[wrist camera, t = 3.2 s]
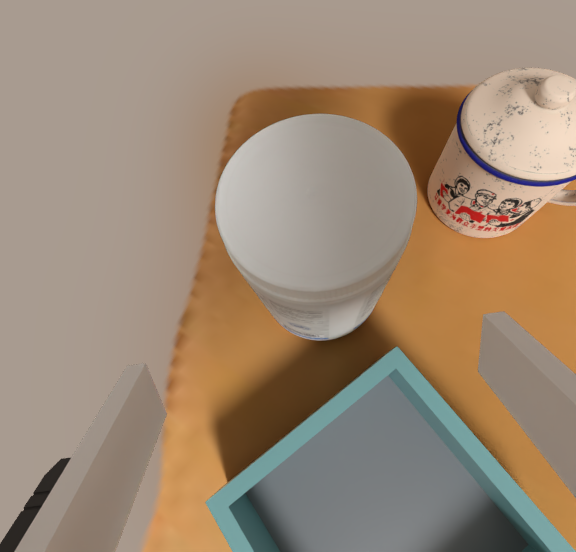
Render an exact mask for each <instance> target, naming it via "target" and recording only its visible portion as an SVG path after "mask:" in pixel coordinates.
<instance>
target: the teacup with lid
mask: <svg viewBox="0 0 576 552" xmlns="http://www.w3.org/2000/svg"><path fill="white" fill-rule="evenodd" d="M575 179H576V79H574V78H572V77H570V76H568V75H565V74H563V73H559V72H556V71H552V70H548V69H540V68H518V69H512V70H508V71H504V72H501V73H498V74H495V75H493V76H491V77H489V78H487V79H486V80H484V81H483V82H481V83H480V84H479V85H477V86H476V87H475V88H474V89H473V90H472V91H471V92H470V93H469V94H468V95H467V96H466V98H465V99H464V101H463V102H462V104H461V106H460V108H459V111H458V115H457V123H456V125H455V127H454V129H453V131H452V133H451V135H450V137H449V139H448V141H447V143H446V145H445V147H444V149H443V151H442V154H441V156H440V158H439V160H438V162H437V164H436V166H435V168H434V170H433V172H432V174H431V176H430V179H429V182H428V190H427V191H428V199H429V203H430V205H431V208H432V209H433V211H434V213H435V214H436V216H437V217H438V218H439V219H440V220H441V221H442V222H443V223H444V224H445V225H447V226H448V227H449V228H451V229H453V230H454V231H456V232H459V233H461V234H464V235H467V236H471V237H477V238H492V237H498V236H502V235H505V234H507V233H510V232H511V231H513V230H515V229H516V228H518V227H519V226H520V225H521V224H523V223H524V222H525V221H526V220H527V219H528V218H530V217H531V216H532V215H533V214H534V213H535V212H536V211H538V210H539V209H540V208H541V207H542V206H543V205H544V204H546V203H547V202H549V203H553V204H558V205H566V206H576V190H563V188H564V187H565V186H566V185H568V184H569V183H570V182H571V181H573V180H575Z"/></svg>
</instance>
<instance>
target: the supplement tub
mask: <svg viewBox="0 0 576 552" xmlns="http://www.w3.org/2000/svg"><path fill="white" fill-rule="evenodd" d="M416 208H417V191H416V184H415V180H414V176H413V173H412V170H411V168H410V166H409V164H408V162H407V160H406V158H405V157H404V155H403V154H402V152H401V151H400V150H399V148H398V147H397V146H396V145H395V144H394V143H393V142H392V141H391V140H390V139H389V138H388V137H387V136H385V135H384V134H383V133H381V132H380V131H378V130H377V129H375V128H373V127H371V126H370V125H368V124H366V123H363V122H361V121H358V120H355V119H352V118H349V117H345V116H340V115H333V114H307V115H300V116H295V117H291V118H288V119H285V120H282V121H279V122H276V123H274V124H272V125H270V126H268V127H266V128H264V129H262V130H261V131H259V132H257V133H256V134H255V135H253V136H252V137H251V138H249V139H248V140H247V141H246V142H245V143H244V144H242V146H241V147H240V148H239V149H238V150H237V151H236V152H235V154H234V155H233V156H232V157H231V159H230V160H229V162H228V163H227V165H226V167H225V169H224V171H223V173H222V175H221V177H220V180H219V183H218V187H217V192H216V199H215V214H216V222H217V226H218V229H219V232H220V235H221V238H222V240H223V242H224V245H225V248H226V250H227V252H228V254H229V256H230V258H231V260H232V261H233V263H234V264H235V266H236V267H237V268H238V270H239V271H240V273H241V274H242V276H243V277H244V278H245V280H246V281H247V282H248V284H249V285H250V286H251V288H252V289H253V290H254V292H255V293H256V294H257V296H258V297H259V298H260V300H261V301H262V302H263V304H264V305H265V306H266V308H267V309H268V310H269V312H270V313H271V314H272V316H273V317H274V318H275V319H276V321H277V322H278V323H279V324H280V325H281V326H283V327H284V328H285V329H286V330H288V331H289V332H291V333H292V334H294V335H297V336H299V337H302V338H305V339H310V340H317V341H324V340H332V339H337V338H340V337H343V336H345V335H347V334H349V333H351V332H352V331H354V330H355V329H357V328H358V327H359V326H360V325H361V324H362V323H363V322H364V321H365V320H366V319H367V318H368V316H369V315H370V314H371V312H372V311H373V309H374V307H375V305H376V303H377V301H378V300H379V298H380V296H381V294H382V292H383V290H384V288H385V286H386V284H387V283H388V281H389V279H390V277H391V275H392V273H393V271H394V270H395V268H396V266H397V264H398V262H399V260H400V258H401V256H402V254H403V252H404V250H405V248H406V246H407V243H408V241H409V238H410V235H411V231H412V226H413V222H414V219H415V214H416Z"/></svg>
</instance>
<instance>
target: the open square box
mask: <svg viewBox="0 0 576 552" xmlns="http://www.w3.org/2000/svg"><path fill="white" fill-rule="evenodd" d="M206 504H207V506H208V508H209V510H210V511H211V513H212V515H213V517H214V519H215V520H216V522H217V524H218V526H219V528H220V530H221V531H222V533H223V535H224V537H225V539H226V540H227V542H228V544H229V546H230V548H231V549H232V551H233V552H576V551H575V550H574V549H573V548H572V547H571V546H570V544H569V543H568V542H567V541H566V540H565V539H564V538H563V536H562V535H561V534H560V533H559V532H558V531H557V529H556V528H555V527H554V526H553V525H552V524H551V523H550V521H549V520H548V519H547V518H546V517H545V516H544V515H543V513H542V512H541V511H540V510H539V509H538V508H537V506H536V505H535V504H534V503H533V502H532V501H531V500H530V498H529V497H528V496H527V495H526V494H525V493H524V492H523V490H522V489H521V488H520V487H519V486H518V485H517V483H516V482H515V481H514V480H513V479H512V478H511V477H510V475H509V474H508V473H507V472H506V471H505V470H504V469H503V467H502V466H501V465H500V464H499V463H498V462H497V460H496V459H495V458H494V457H493V456H492V455H491V454H490V452H489V451H488V450H487V449H486V448H485V447H484V445H483V444H482V443H481V442H480V441H479V440H478V439H477V437H476V436H475V435H474V434H473V433H472V432H471V431H470V429H469V428H468V427H467V426H466V425H465V424H464V422H463V421H462V420H461V419H460V418H459V417H458V416H457V414H456V413H455V412H454V411H453V410H452V409H451V408H450V406H449V405H448V404H447V403H446V402H445V401H444V399H443V398H442V397H441V396H440V395H439V394H438V393H437V391H436V390H435V389H434V388H433V387H432V386H431V385H430V383H429V382H428V381H427V380H426V379H425V378H424V376H423V375H422V374H421V373H420V372H419V371H418V370H417V368H416V367H415V366H414V365H413V364H412V363H411V362H410V360H409V359H408V358H407V357H406V356H405V355H404V353H403V352H402V351H401V350H400V349H399V348H398V347H397V346H396V347H395V348H393V349H392V350H391V351H389V352H388V353H386V354H385V355H383V356H382V357H381V358H380V359H379V360H377V361H376V362H375V363H374V364H372V365H371V366H370V367H369V368H367V369H366V370H365V371H364V372H363V373H361V374H360V375H359V376H358V377H356V378H355V379H354V380H353V381H351V382H350V383H349V384H348V385H347V386H345V387H344V388H343V389H342V390H340V391H339V392H338V393H337V394H335V395H334V396H333V397H332V398H331V399H329V400H328V401H327V402H326V403H324V404H323V405H322V406H321V407H320V408H318V409H317V410H316V411H315V412H313V413H312V414H311V415H310V416H308V417H307V418H306V419H305V420H304V421H302V422H301V423H300V424H299V425H297V426H296V427H295V428H294V429H292V430H291V431H290V432H289V433H288V434H286V435H285V436H284V437H283V438H281V439H280V440H279V441H278V442H276V443H275V444H274V445H273V446H272V447H270V448H269V449H268V450H267V451H265V452H264V453H263V454H262V455H260V456H259V457H258V458H257V459H256V460H254V461H253V462H252V463H251V464H249V465H248V466H247V467H246V468H245V469H243V470H242V471H241V472H240V473H238V474H237V475H236V476H235V477H233V478H232V479H231V480H230V481H229V482H227V483H226V484H225V485H224V486H223V487H222V488H221V489H219V490H218V491H217V492H216V493H215V494H214V495H213V496H212V497H211V498H209V499H208V500H207V501H206Z"/></svg>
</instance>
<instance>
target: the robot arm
mask: <svg viewBox="0 0 576 552" xmlns="http://www.w3.org/2000/svg"><path fill="white" fill-rule="evenodd" d="M478 372H479V373H480V375H481V376H482V377H483V379H484V380H485V381H486V383H487V384H488V385H489V386H490V388H491V389H492V390H493V392H494V393H495V394H496V395H497V397H498V398H499V399H500V401H501V402H502V403H503V405H504V406H505V407H506V408H507V410H508V411H509V412H510V414H511V415H512V416H513V417H514V419H515V420H516V421H517V423H518V424H519V425H520V427H521V428H522V429H523V430H524V432H525V433H526V434H527V436H528V437H529V438H530V439H531V441H532V442H533V443H534V445H535V446H536V447H537V449H538V450H539V451H540V452H541V454H542V455H543V456H544V458H545V459H546V460H547V462H548V463H549V464H550V465H551V467H552V468H553V469H554V471H555V472H556V473H557V474H558V476H559V477H560V478H561V480H562V481H563V482H564V484H565V485H566V486H567V487H568V489H569V490H570V491H571V493H572V494H573V495H574V496H575V498H576V374H575V373H573V372H572V371H571V370H570V369H569V368H568V367H567V366H566V365H564V364H563V363H562V362H561V361H560V360H559V359H558V358H556V357H555V356H554V355H553V354H552V353H551V352H550V351H548V350H547V349H546V348H545V347H544V346H543V345H542V344H540V343H539V342H538V341H537V340H536V339H535V338H534V337H532V336H531V335H530V334H529V333H528V332H527V331H526V330H525V329H523V328H522V327H521V326H520V325H519V324H518V323H517V322H515V321H514V320H513V319H512V318H511V317H510V316H509V315H507V314H506V313H505V312H497V313H490V314H483V323H482V334H481V344H480V355H479V365H478ZM166 415H167V413H166V411H165V408H164V406H163V403H162V401H161V399H160V396H159V394H158V391H157V389H156V387H155V384H154V382H153V379H152V377H151V375H150V372H149V370H148V367H147V365H146V363H143V364H136V365H129V366H126V368H125V370H124V371H123V373H122V375H121V376H120V378H119V380H118V381H117V383H116V385H115V386H114V388H113V390H112V391H111V393H110V395H109V396H108V398H107V400H106V401H105V403H104V404H103V406H102V408H101V409H100V411H99V413H98V415H97V416H96V418H95V419H94V421H93V423H92V424H91V426H90V428H89V429H88V431H87V433H86V434H85V436H84V438H83V439H82V441H81V442H80V444H79V446H78V447H77V449H76V451H75V452H74V454H73V456H72V457H71V458H66V459H61V460H60V461H59V462H58V463H57V464H56V465H55V466H54V467H53V468H52V469H51V470H50V471H49V472H48V473H47V474H46V475H45V476H44V477H43V479H42V481H41V482H40V484H39V485H38V487H37V488H36V490H35V491H34V495H33V496H31V497H30V499H29V500H28V502H27V503H26V505H25V507H24V511H22V512H21V513H20V514H19V516H18V517H17V519H16V520H15V522H14V524H13V525H12V527H11V528H10V530H9V531H8V533H7V534H6V536H5V538H4V539H3V540H2V542H1V544H0V552H115V551H116V548H117V546H118V543H119V540H120V538H121V535H122V532H123V530H124V527H125V524H126V522H127V519H128V516H129V514H130V511H131V508H132V506H133V503H134V500H135V498H136V495H137V492H138V490H139V487H140V484H141V482H142V479H143V476H144V474H145V471H146V468H147V466H148V463H149V460H150V458H151V455H152V452H153V450H154V447H155V444H156V442H157V439H158V436H159V434H160V431H161V428H162V426H163V423H164V420H165V418H166Z"/></svg>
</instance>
